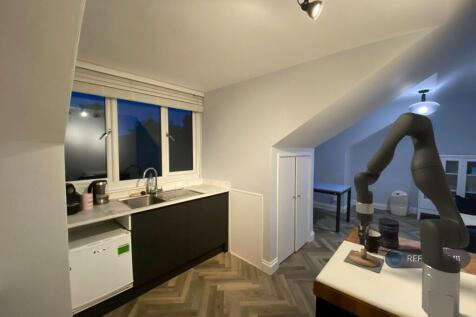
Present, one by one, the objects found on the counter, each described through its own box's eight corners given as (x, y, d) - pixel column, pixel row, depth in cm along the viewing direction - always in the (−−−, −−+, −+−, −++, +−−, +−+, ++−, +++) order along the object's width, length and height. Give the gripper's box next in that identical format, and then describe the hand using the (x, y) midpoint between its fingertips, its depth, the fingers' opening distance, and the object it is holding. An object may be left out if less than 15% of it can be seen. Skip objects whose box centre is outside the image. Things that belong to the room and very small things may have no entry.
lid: (376, 270, 94) (376, 259, 93) (346, 260, 103) (346, 250, 102) (381, 259, 103) (381, 249, 103) (353, 250, 112) (353, 241, 112)
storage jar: (400, 251, 111) (400, 225, 110) (378, 247, 116) (378, 222, 115) (397, 244, 119) (397, 219, 118) (377, 240, 124) (377, 217, 124)
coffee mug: (362, 245, 119) (362, 228, 118) (379, 248, 114) (379, 231, 114) (362, 254, 109) (362, 236, 108) (381, 258, 104) (381, 239, 104)
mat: (378, 273, 92) (378, 272, 92) (343, 261, 103) (343, 260, 103) (383, 259, 103) (383, 259, 103) (351, 250, 113) (351, 249, 113)
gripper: (370, 216, 94) (369, 249, 95) (376, 208, 104) (375, 238, 105) (352, 212, 99) (352, 244, 100) (359, 206, 109) (359, 234, 110)
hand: (364, 241), depth 103 cm, fingers open, 8 cm apart
